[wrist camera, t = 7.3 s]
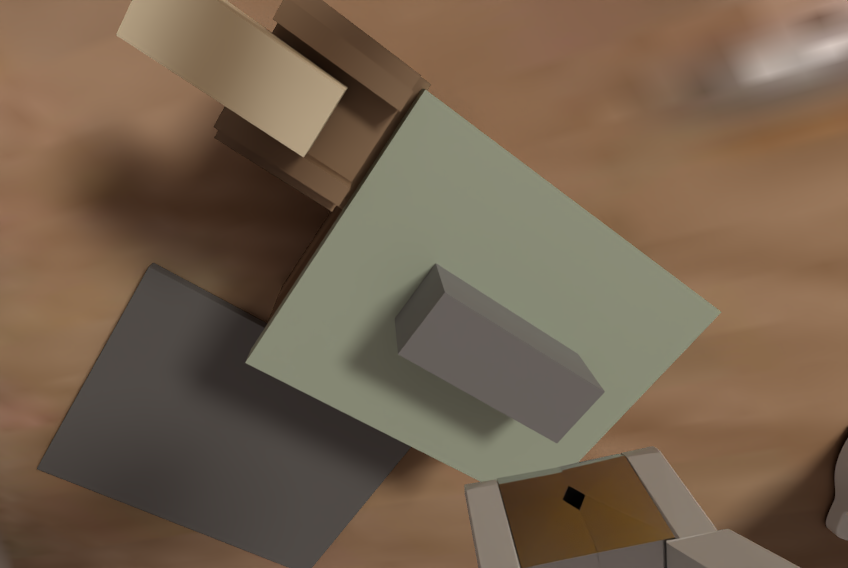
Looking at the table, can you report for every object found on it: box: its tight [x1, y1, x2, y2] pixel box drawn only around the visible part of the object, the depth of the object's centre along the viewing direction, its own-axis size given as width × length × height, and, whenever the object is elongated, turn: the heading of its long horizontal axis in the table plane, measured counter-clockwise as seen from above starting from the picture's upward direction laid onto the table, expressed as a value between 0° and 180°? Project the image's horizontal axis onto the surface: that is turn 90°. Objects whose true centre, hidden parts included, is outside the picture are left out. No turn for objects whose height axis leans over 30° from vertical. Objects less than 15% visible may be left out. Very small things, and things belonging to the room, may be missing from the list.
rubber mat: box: [37, 263, 411, 568], centre depth 33 cm, size 19×16×1 cm
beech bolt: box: [116, 0, 348, 157], centre depth 17 cm, size 6×2×3 cm, turn 55°
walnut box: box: [214, 0, 431, 326], centre depth 25 cm, size 22×14×9 cm, turn 55°
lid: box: [245, 88, 721, 482], centre depth 23 cm, size 16×13×5 cm
